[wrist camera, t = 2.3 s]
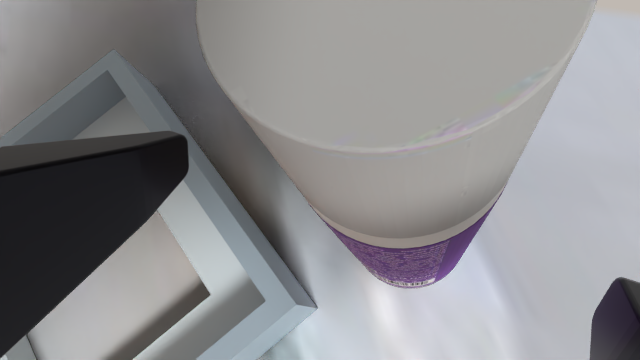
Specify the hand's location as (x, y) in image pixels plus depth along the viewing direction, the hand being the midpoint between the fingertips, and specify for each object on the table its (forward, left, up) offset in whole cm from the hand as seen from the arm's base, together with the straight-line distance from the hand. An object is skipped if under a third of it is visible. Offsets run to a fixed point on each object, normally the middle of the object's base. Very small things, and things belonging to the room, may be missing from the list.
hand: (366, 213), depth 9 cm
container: (+2, +1, -10) cm, 11 cm away
